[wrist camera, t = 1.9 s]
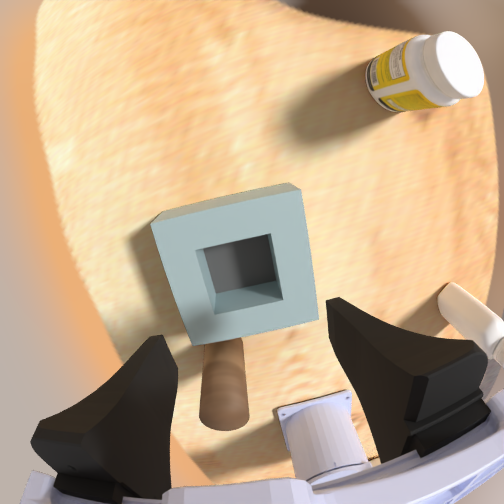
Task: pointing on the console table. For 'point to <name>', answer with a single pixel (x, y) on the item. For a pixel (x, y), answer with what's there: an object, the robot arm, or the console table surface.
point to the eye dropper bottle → (473, 320)
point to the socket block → (239, 263)
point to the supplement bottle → (425, 73)
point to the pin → (224, 386)
